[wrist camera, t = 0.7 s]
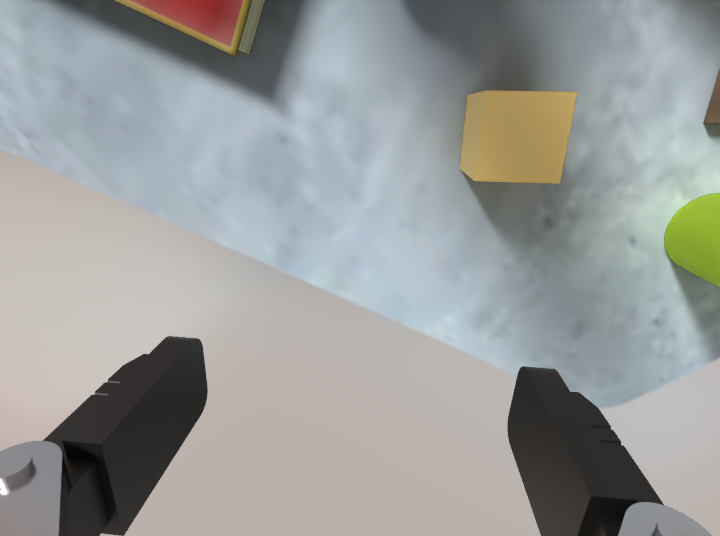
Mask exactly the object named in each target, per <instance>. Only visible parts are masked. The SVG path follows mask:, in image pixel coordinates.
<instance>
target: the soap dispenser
mask: <svg viewBox="0 0 720 536" xmlns="http://www.w3.org/2000/svg"><path fill="white" fill-rule="evenodd" d="M664 244H665V249H666V252H667V254H668V256H669V257H670V259H671V260H672V261H673V262H674V263H676V264H677V265H679V266H680V267H682V268H684V269H686V270H688V271H690V272H692V273H693V274H695V275H697V276H699V277H701V278H703V279H705V280H707V281H708V282H710V283H712V284H714V285H716V286H718V287H720V193H717V194H709V195H705V196H702V197H699V198H697V199H695V200H693V201H691V202H689V203H688V204H686V205H685V206H683V207H682V208H681V209H680V210H679V211H678V212H677V213H676V214H675V215H674V217H673V218H672V219H671V221H670V223H669V225H668V227H667V229H666V233H665V238H664Z"/></svg>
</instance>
